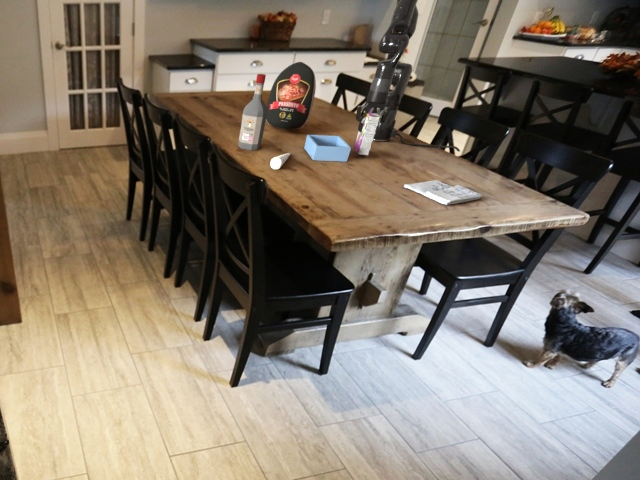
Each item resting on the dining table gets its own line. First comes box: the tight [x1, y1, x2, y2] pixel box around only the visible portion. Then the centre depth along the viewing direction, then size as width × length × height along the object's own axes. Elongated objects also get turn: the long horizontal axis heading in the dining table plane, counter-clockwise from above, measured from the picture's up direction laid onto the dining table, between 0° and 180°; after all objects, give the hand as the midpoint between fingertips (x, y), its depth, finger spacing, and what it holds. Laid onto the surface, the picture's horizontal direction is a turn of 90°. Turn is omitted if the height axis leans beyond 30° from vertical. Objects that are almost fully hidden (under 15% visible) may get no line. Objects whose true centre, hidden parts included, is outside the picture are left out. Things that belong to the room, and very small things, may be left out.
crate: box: [303, 134, 352, 163], centre depth 220 cm, size 15×18×6 cm
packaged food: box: [265, 61, 317, 131], centre depth 246 cm, size 22×20×30 cm
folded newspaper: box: [403, 179, 484, 206], centre depth 187 cm, size 19×20×2 cm
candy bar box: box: [353, 110, 381, 156], centre depth 217 cm, size 11×5×16 cm, turn 168°
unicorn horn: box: [269, 152, 291, 171], centre depth 211 cm, size 5×24×5 cm, turn 147°
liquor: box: [237, 73, 267, 151], centre depth 219 cm, size 9×9×30 cm
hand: (366, 131), depth 216 cm, fingers closed on candy bar box, 5 cm apart
